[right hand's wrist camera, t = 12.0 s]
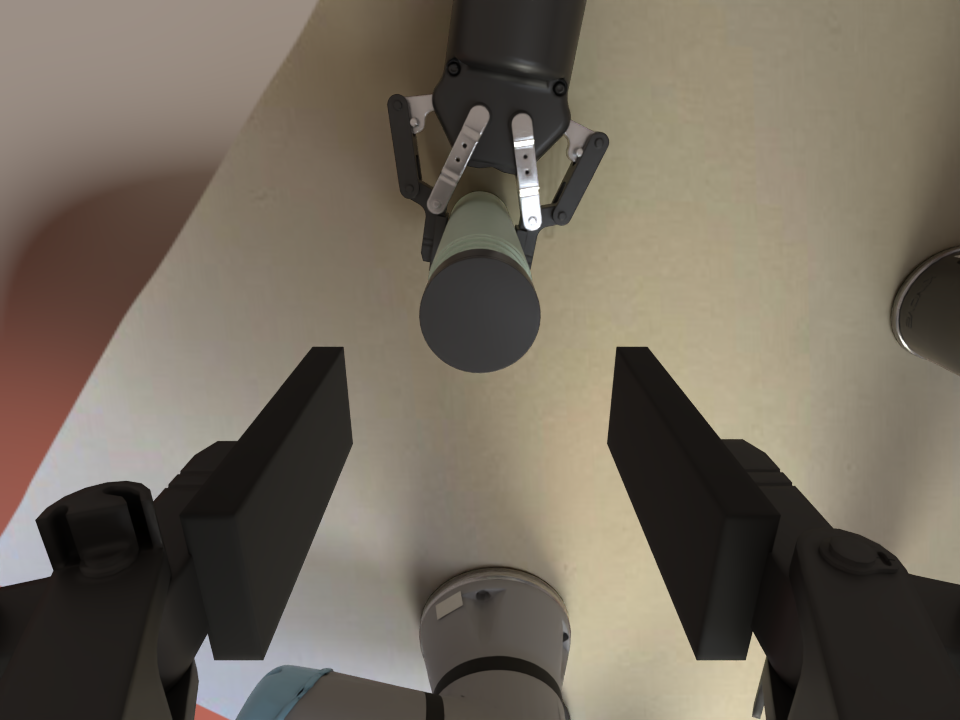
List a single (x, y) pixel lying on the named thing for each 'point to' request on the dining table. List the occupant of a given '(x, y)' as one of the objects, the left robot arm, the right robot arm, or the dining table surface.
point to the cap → (479, 311)
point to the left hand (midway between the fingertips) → (473, 274)
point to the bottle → (479, 230)
